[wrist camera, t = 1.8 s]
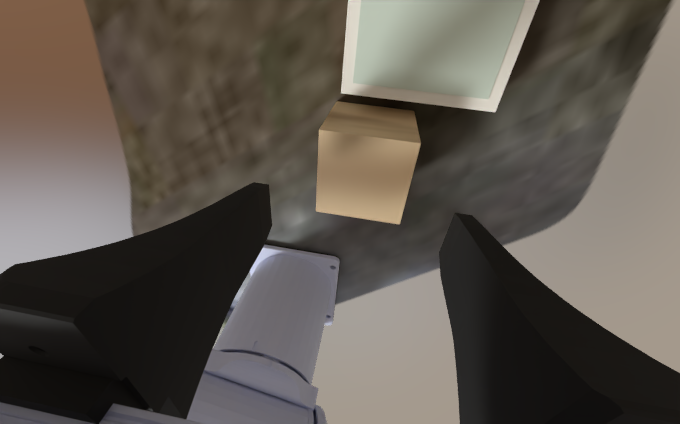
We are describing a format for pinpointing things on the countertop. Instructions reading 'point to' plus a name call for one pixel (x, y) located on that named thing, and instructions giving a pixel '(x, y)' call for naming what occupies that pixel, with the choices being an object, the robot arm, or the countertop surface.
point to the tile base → (434, 49)
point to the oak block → (366, 161)
